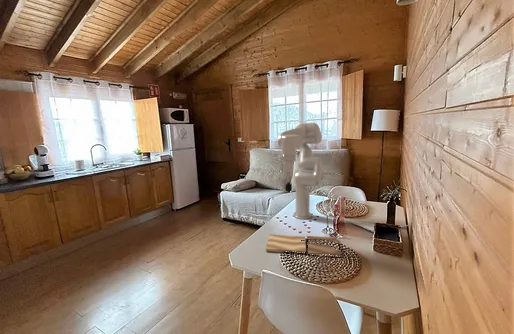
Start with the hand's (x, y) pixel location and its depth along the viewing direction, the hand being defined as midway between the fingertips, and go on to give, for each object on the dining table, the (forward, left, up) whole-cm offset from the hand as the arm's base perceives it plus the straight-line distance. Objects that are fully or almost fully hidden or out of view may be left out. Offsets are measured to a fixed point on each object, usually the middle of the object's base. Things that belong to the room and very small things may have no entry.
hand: (288, 190), depth 134 cm
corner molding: (-28, +53, -28) cm, 66 cm away
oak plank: (+11, -1, -27) cm, 29 cm away
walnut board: (+11, +18, -27) cm, 34 cm away
